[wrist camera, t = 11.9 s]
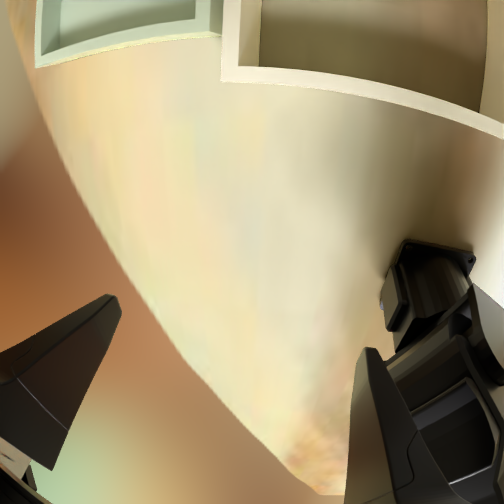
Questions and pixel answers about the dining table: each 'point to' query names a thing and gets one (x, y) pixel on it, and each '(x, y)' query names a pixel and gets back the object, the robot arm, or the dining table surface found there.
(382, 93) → the cream square bin
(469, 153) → the dining table surface
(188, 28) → the tray
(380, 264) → the dining table surface
